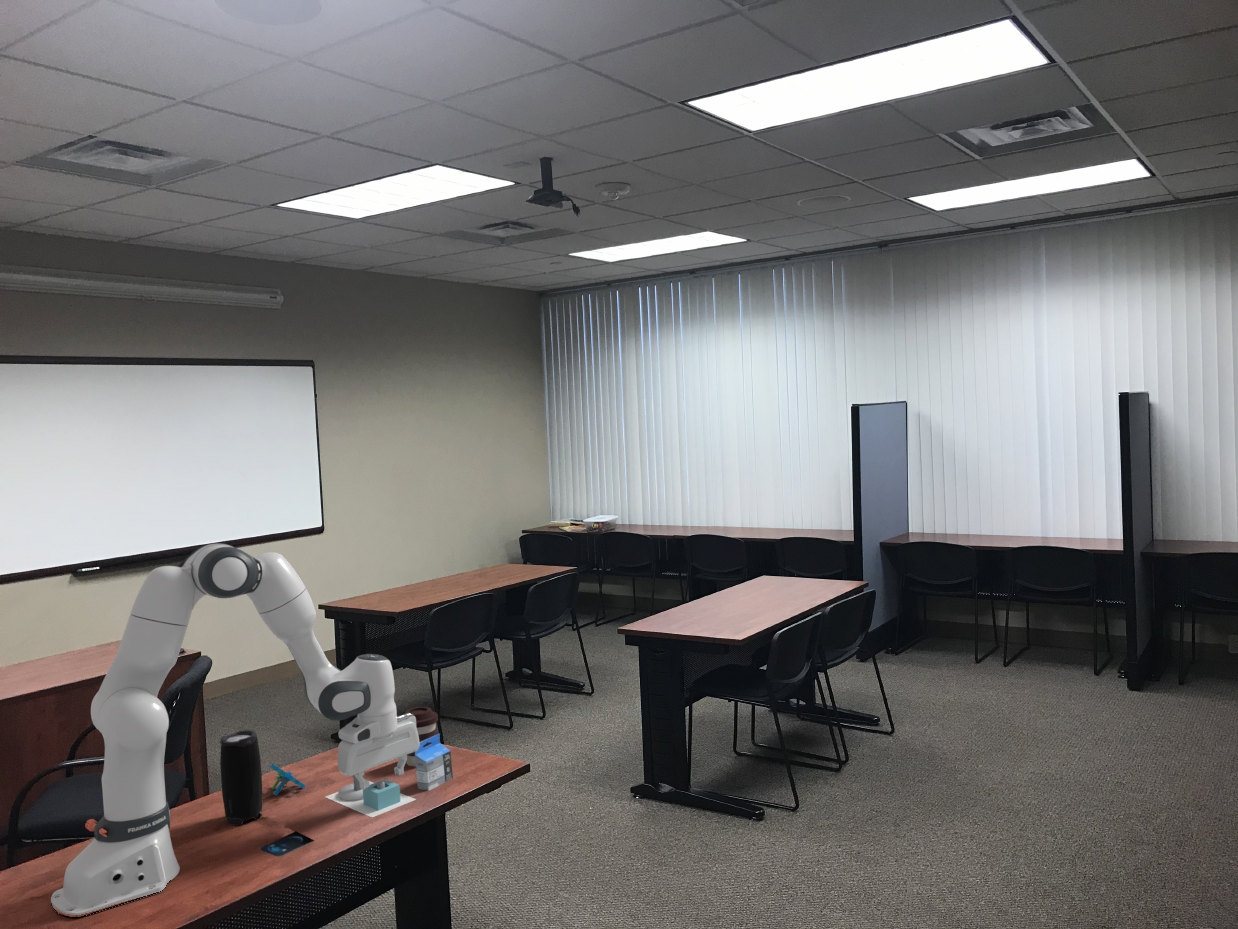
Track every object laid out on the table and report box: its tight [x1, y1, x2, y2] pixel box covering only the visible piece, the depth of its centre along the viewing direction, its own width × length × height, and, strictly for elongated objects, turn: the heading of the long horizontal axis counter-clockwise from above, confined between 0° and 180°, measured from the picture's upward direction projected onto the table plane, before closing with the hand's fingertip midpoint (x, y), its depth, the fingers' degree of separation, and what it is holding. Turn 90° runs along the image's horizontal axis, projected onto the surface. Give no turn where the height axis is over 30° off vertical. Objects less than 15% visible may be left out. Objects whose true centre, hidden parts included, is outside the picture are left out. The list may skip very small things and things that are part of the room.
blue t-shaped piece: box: [269, 764, 307, 796], centre depth 226 cm, size 11×6×10 cm
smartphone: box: [259, 830, 315, 857], centre depth 199 cm, size 8×1×15 cm
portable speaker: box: [219, 729, 263, 826], centre depth 211 cm, size 9×9×20 cm
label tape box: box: [415, 733, 454, 792], centre depth 223 cm, size 9×4×12 cm, turn 148°
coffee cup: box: [403, 706, 439, 767], centre depth 239 cm, size 10×10×15 cm
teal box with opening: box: [363, 779, 401, 811], centre depth 213 cm, size 6×6×4 cm
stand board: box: [325, 775, 417, 818], centre depth 216 cm, size 12×20×6 cm, turn 48°
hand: (382, 781), depth 213 cm, fingers open, 8 cm apart
